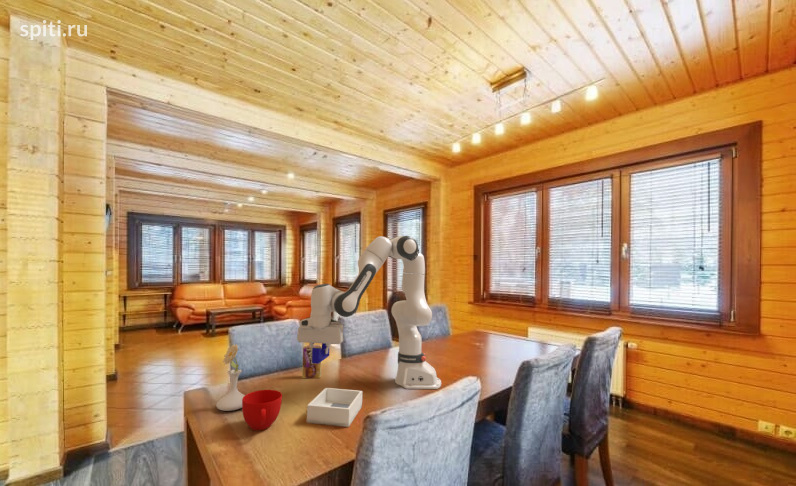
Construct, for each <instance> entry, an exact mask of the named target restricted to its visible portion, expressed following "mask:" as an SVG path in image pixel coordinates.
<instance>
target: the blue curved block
mask: <svg viewBox="0 0 796 486" xmlns="http://www.w3.org/2000/svg"><path fill="white" fill-rule="evenodd" d="M321 345H322V348H321V349H320V348H313V349H312V363H317V364H319V363H320V362H321V363H322V362H323V361H324V360H325V359H327V358H328V357H330V348H329V349H328V354H323V352H324V351H323V350H324V349H326V348H327V346H326V344H325V343H321Z"/></svg>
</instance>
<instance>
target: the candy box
mask: <svg viewBox="0 0 796 486" xmlns="http://www.w3.org/2000/svg"><path fill="white" fill-rule="evenodd" d="M313 345H314V348H320V349H321V348H322V344H313ZM301 372H302V375H301V377H302V378H301V379H320V378H321V375H322V362H320V363H319V364H317V363H312V349H311V347H310V345H303V347H302V370H301Z"/></svg>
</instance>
